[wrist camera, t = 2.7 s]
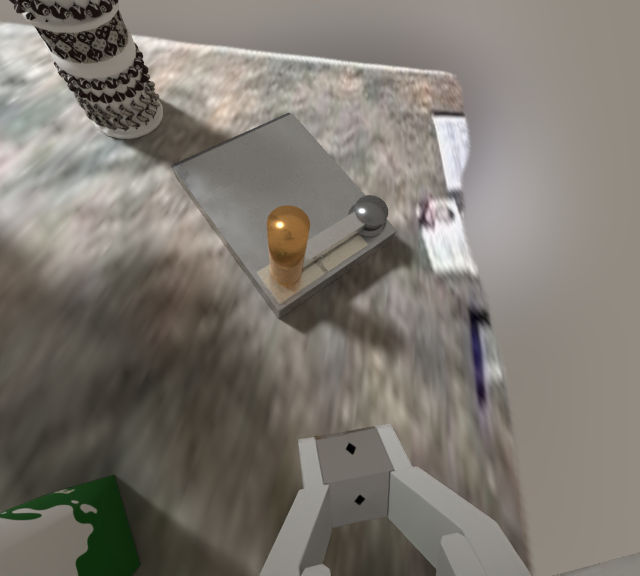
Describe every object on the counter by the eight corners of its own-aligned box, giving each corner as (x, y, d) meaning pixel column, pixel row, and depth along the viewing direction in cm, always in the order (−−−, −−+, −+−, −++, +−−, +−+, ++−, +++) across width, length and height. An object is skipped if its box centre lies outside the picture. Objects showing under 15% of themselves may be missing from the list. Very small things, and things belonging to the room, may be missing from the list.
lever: (369, 197, 35) (396, 139, 27) (390, 221, 34) (423, 167, 26) (262, 263, 30) (256, 216, 23) (283, 291, 30) (284, 252, 22)
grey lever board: (178, 181, 37) (169, 161, 34) (289, 129, 41) (290, 107, 38) (278, 318, 32) (278, 310, 29) (389, 242, 37) (399, 228, 34)
